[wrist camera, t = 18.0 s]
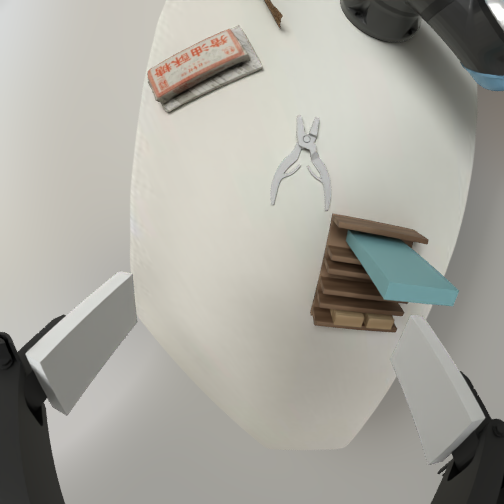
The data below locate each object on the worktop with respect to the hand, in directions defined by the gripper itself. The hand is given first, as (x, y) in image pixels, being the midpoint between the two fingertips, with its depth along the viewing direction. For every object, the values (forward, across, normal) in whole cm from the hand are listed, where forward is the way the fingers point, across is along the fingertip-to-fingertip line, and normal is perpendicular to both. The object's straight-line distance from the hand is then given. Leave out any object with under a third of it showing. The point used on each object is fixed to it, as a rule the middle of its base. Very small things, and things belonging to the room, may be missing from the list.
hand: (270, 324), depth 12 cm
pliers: (+35, +3, +7) cm, 36 cm away
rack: (+35, +17, -10) cm, 40 cm away
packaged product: (+35, -16, +22) cm, 44 cm away
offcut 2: (+34, +20, -17) cm, 43 cm away
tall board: (+34, +17, -4) cm, 38 cm away
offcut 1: (+34, +14, -17) cm, 40 cm away
